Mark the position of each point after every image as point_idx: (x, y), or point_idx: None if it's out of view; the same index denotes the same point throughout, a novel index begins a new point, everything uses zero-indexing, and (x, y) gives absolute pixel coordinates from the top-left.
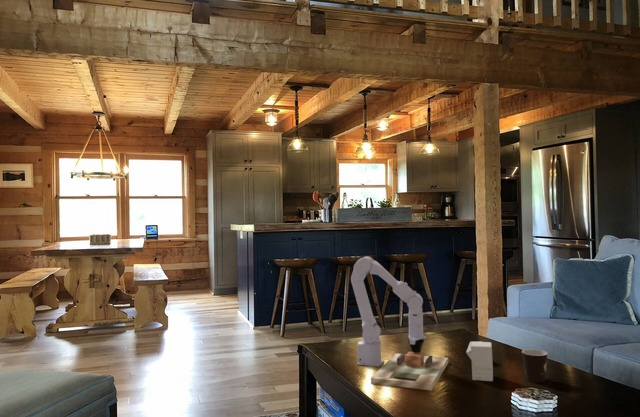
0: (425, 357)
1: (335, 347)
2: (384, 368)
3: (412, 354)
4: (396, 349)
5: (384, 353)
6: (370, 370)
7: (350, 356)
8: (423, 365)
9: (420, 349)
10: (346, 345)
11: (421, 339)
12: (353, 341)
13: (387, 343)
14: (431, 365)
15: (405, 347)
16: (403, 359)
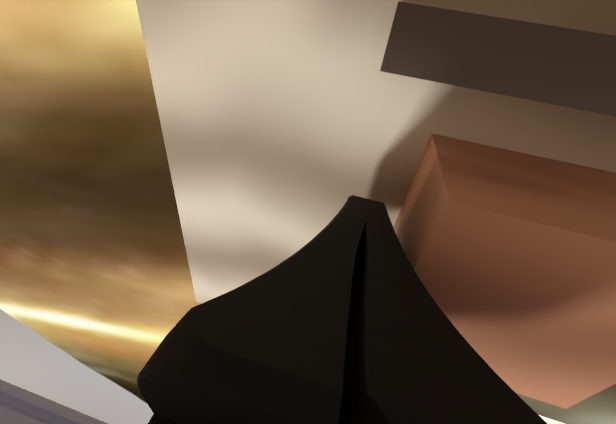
0: (207, 111)
1: None
2: (571, 410)
3: (537, 348)
4: (71, 257)
5: (163, 307)
6: None
7: None
8: (565, 141)
9: (376, 268)
10: None
11: (154, 400)
12: (90, 355)
13: (23, 277)
14: (605, 10)
15: (8, 216)
16: None
